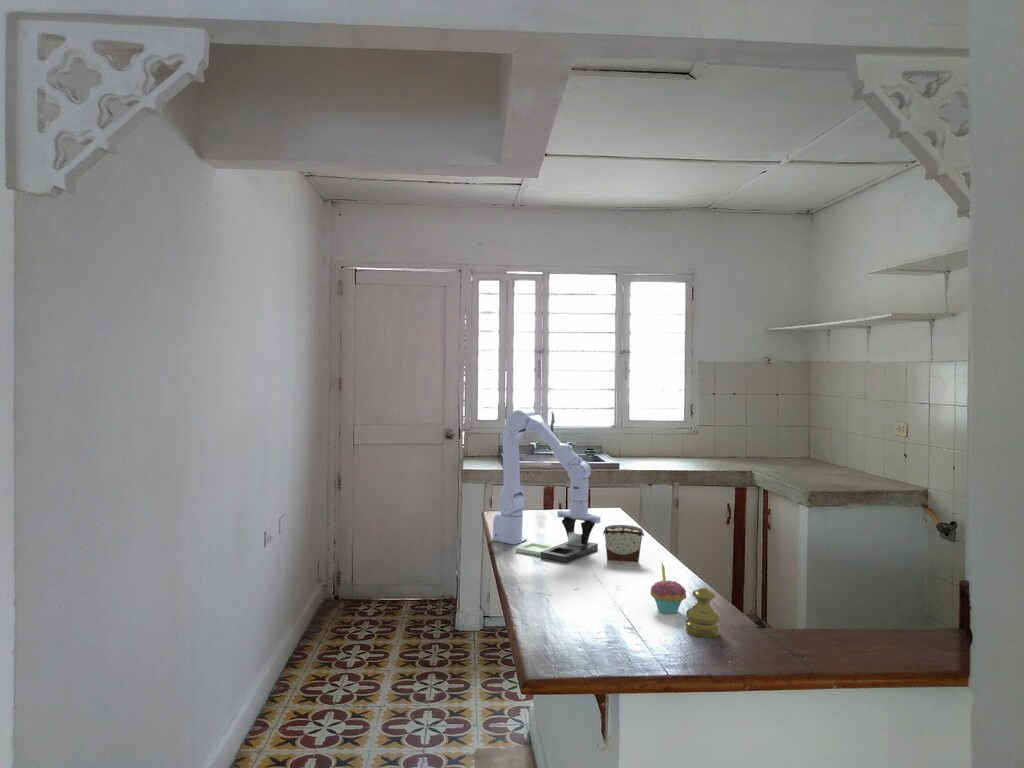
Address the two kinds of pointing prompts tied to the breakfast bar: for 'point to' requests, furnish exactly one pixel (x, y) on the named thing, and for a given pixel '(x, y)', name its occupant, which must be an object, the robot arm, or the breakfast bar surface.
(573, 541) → the grey rectangular block
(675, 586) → the cupcake
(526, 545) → the parts tray
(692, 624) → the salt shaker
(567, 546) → the dark grey rectangular frame
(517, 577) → the breakfast bar surface
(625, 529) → the food container
